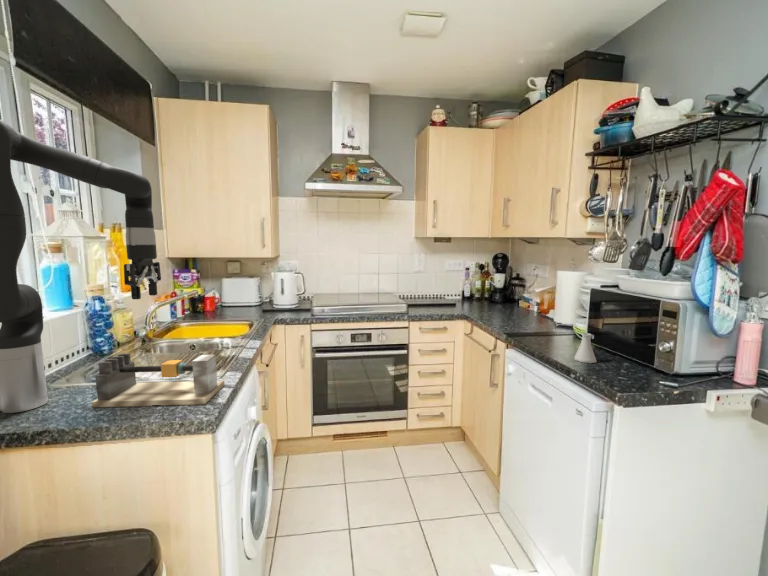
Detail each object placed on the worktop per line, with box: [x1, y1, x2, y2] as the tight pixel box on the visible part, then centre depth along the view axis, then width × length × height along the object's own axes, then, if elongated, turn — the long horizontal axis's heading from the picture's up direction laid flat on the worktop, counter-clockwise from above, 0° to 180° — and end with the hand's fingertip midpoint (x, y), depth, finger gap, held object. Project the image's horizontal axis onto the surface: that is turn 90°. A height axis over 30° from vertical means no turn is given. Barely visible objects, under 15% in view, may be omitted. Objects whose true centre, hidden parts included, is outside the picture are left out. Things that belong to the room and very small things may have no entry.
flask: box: [573, 332, 597, 364], centre depth 137 cm, size 7×7×10 cm
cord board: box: [91, 353, 225, 408], centre depth 108 cm, size 30×14×12 cm, turn 92°
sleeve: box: [160, 359, 183, 378], centre depth 108 cm, size 4×4×4 cm
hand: (145, 297), depth 114 cm, fingers open, 8 cm apart
